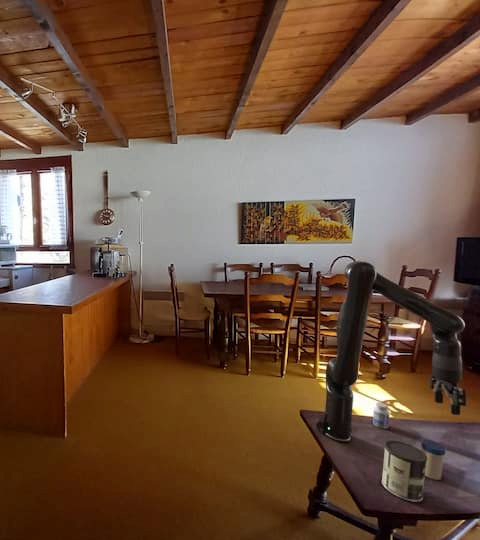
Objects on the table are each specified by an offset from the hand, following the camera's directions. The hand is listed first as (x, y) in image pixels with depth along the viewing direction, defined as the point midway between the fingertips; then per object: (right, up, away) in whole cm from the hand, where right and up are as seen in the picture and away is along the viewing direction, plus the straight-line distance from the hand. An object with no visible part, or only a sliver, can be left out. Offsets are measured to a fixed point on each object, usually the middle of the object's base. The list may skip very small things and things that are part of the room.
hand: (446, 408), depth 113 cm
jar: (-11, -22, -4) cm, 25 cm away
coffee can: (-27, -23, -11) cm, 37 cm away
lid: (-11, -11, -5) cm, 16 cm away
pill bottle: (-4, -19, +24) cm, 31 cm away
